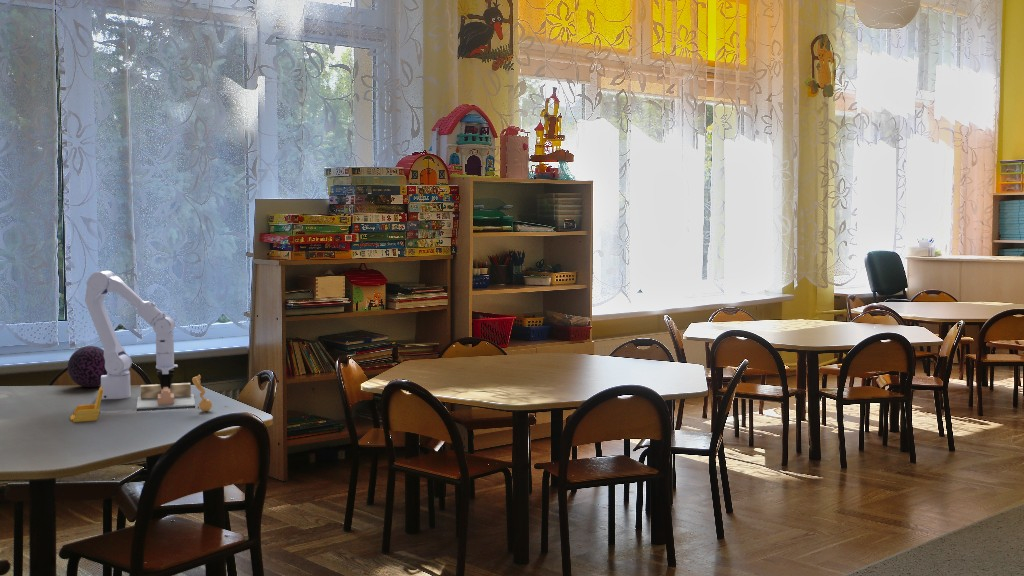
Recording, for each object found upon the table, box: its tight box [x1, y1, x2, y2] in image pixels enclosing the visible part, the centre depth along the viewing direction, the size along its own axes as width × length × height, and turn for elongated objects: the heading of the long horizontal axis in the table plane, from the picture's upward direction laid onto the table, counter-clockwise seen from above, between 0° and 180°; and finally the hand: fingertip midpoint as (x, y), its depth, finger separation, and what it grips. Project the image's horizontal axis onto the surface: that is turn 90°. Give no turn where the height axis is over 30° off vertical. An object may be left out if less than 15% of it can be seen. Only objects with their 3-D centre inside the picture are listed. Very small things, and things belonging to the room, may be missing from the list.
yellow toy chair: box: [70, 386, 103, 423], centre depth 316 cm, size 10×10×9 cm
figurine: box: [191, 374, 213, 413], centre depth 326 cm, size 8×6×12 cm
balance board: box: [135, 387, 196, 412], centre depth 339 cm, size 18×20×6 cm
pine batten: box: [140, 382, 192, 398], centre depth 346 cm, size 16×3×4 cm, turn 109°
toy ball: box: [67, 345, 108, 388], centre depth 371 cm, size 15×15×15 cm
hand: (165, 392), depth 346 cm, fingers closed on pine batten, 3 cm apart
